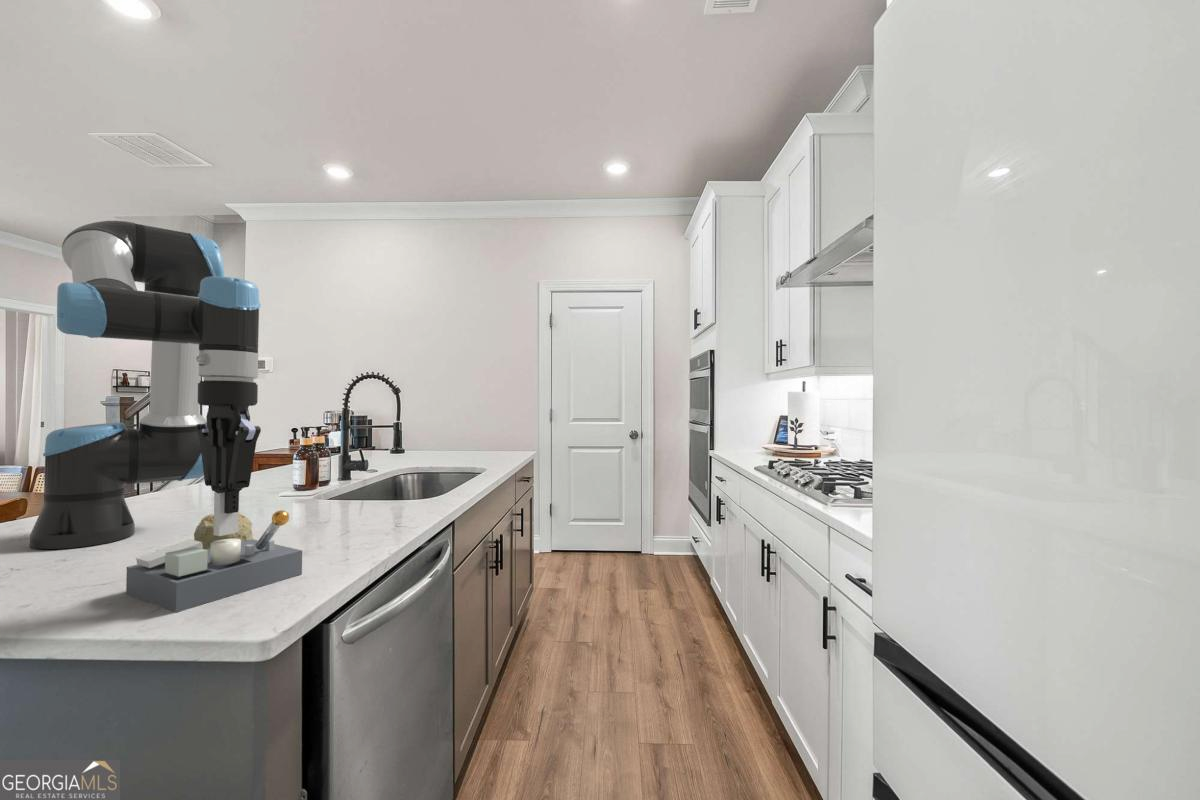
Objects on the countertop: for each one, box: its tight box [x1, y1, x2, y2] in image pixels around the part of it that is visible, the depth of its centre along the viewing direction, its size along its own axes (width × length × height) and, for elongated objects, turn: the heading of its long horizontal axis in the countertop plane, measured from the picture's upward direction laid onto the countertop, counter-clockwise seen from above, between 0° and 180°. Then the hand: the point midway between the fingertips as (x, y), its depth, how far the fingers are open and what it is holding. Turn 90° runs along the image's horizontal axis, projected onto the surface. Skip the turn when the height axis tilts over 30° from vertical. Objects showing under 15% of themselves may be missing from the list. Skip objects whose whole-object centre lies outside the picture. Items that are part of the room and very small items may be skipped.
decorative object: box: [193, 512, 254, 550], centre depth 98 cm, size 9×10×10 cm
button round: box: [210, 539, 241, 565], centre depth 80 cm, size 4×4×3 cm
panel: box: [125, 538, 303, 613], centre depth 83 cm, size 14×18×6 cm
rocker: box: [135, 538, 203, 568], centre depth 80 cm, size 4×7×1 cm, turn 153°
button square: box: [165, 547, 208, 577], centre depth 76 cm, size 4×4×3 cm
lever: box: [255, 510, 290, 550], centre depth 85 cm, size 2×2×9 cm
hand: (226, 533), depth 80 cm, fingers closed
